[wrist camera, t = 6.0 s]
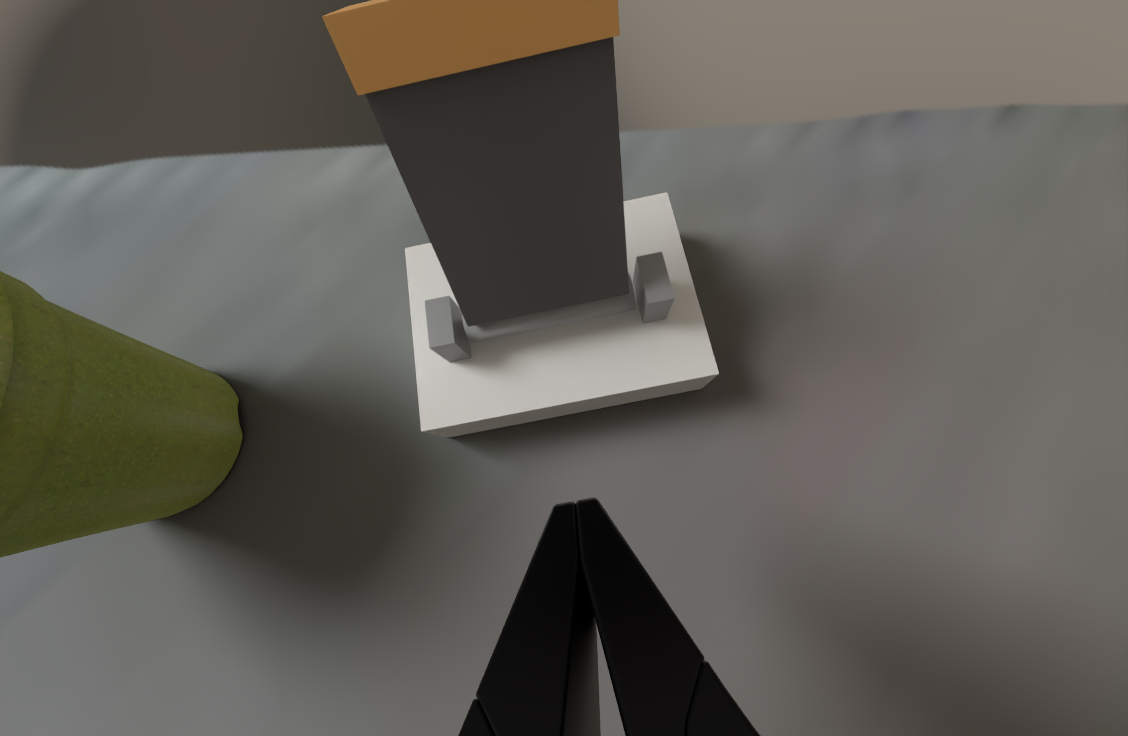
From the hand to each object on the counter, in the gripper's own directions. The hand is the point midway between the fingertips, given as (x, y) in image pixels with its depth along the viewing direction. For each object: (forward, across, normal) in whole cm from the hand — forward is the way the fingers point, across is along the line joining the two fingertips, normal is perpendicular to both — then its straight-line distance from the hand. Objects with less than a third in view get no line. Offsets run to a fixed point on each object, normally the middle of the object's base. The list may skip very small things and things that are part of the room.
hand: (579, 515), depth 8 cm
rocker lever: (+7, 0, -2) cm, 7 cm away
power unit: (+10, 0, +1) cm, 10 cm away
